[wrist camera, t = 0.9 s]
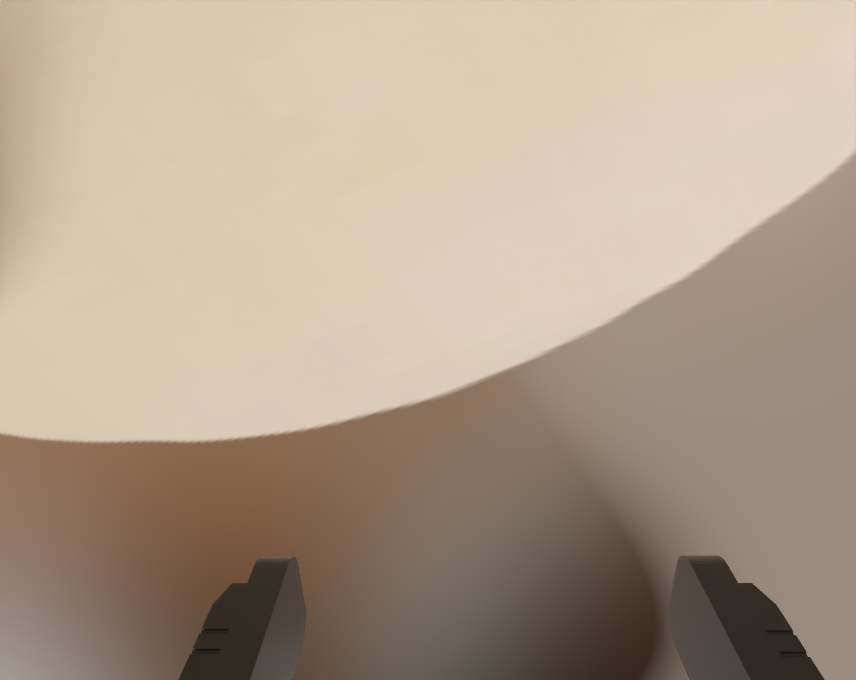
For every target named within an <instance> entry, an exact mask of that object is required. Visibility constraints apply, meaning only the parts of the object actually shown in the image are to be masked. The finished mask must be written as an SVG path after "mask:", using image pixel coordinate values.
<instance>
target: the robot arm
mask: <svg viewBox="0 0 856 680" xmlns="http://www.w3.org/2000/svg"><path fill="white" fill-rule="evenodd" d="M668 617H669V625H670V630H671V634H672V637H673V640H674V643H675V646H676V648H677V650H678V653H679V655H680V658H681V660H682V663H683V665H684V667H685V670H686V672H687V675H688V677H689V679H690V680H824V678H823V677H822V675H821V674H820V672H819V671H818V669H817V667H816V666H815V664H814V663H813V661H812V660H811V658H810V657H808V656H807V654H806V650H805V649H804V647H803V646H802V644H801V642H800V641H799V639H798V638H797V636H796V635H794V634H793V630H792V628H791V627H790V625H789V624H788V622H787V621H786V619H785V617H784V616H783V614H782V613H781V611H780V610H779V608H778V607H777V605H776V604H775V603H774V602H772V601H771V600H770V599H769V598H768V597H767V596H766V595H765V594H763V593H762V592H761V591H760V590H759V589H758V588H757V587H756V586H754V585H753V584H752V583H738V582H737V580H736V579H735V577H734V575H733V574H732V572H731V570H730V569H729V567H728V565H727V564H726V562H725V560H724V559H723V558H722V557H720V556H680V557H679V559H678V562H677V567H676V572H675V577H674V582H673V588H672V593H671V598H670V603H669V610H668ZM305 621H306V609H305V602H304V596H303V590H302V585H301V580H300V574H299V568H298V562H297V559H296V558H295V557H259V558H258V560H257V561H256V563H255V565H254V568H253V571H252V573H251V575H250V578H249V580H248V583H247V584H231V585H230V586H229V587H228V588H227V590H226V591H225V592H224V593H223V594H222V595H221V596H220V597H219V598H218V599H217V600H216V602H215V603H214V604H213V605H212V607H211V609H210V612H209V614H208V616H207V618H206V621H205V623H204V625H203V627H202V632H201V634H199V636H198V638H197V640H196V642H195V645H194V647H193V652H192V654H190V656H189V658H188V660H187V662H186V665H185V667H184V669H183V671H182V673H181V676H180V678H179V680H293V676H294V672H295V668H296V664H297V660H298V657H299V653H300V649H301V645H302V642H303V637H304V631H305Z"/></svg>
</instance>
